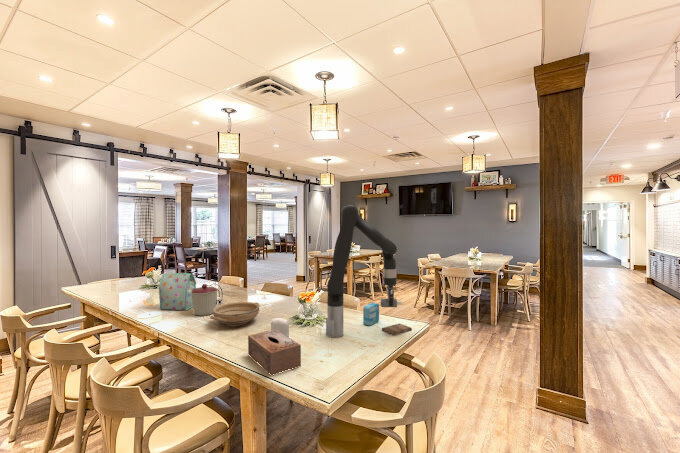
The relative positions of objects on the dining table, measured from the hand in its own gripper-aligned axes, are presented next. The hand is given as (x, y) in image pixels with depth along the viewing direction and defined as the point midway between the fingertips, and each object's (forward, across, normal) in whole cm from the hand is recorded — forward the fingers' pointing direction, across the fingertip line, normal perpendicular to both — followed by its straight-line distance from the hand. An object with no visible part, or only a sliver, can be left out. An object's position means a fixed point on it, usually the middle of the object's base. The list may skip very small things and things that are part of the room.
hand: (390, 305), depth 183 cm
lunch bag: (+13, +46, +154) cm, 162 cm away
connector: (+1, 0, 0) cm, 1 cm away
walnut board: (+16, +3, -4) cm, 17 cm away
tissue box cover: (+15, -40, +60) cm, 73 cm away
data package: (+16, +16, +11) cm, 25 cm away
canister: (+13, +32, +128) cm, 132 cm away
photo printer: (+15, -15, +62) cm, 66 cm away
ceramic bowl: (+14, +13, +97) cm, 99 cm away
